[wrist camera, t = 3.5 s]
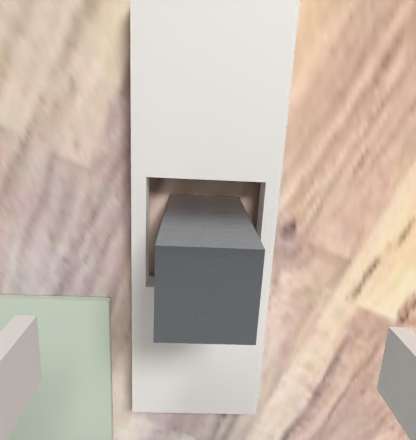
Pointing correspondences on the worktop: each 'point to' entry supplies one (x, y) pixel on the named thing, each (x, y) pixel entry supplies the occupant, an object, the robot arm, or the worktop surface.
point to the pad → (67, 367)
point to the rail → (205, 168)
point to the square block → (207, 272)
